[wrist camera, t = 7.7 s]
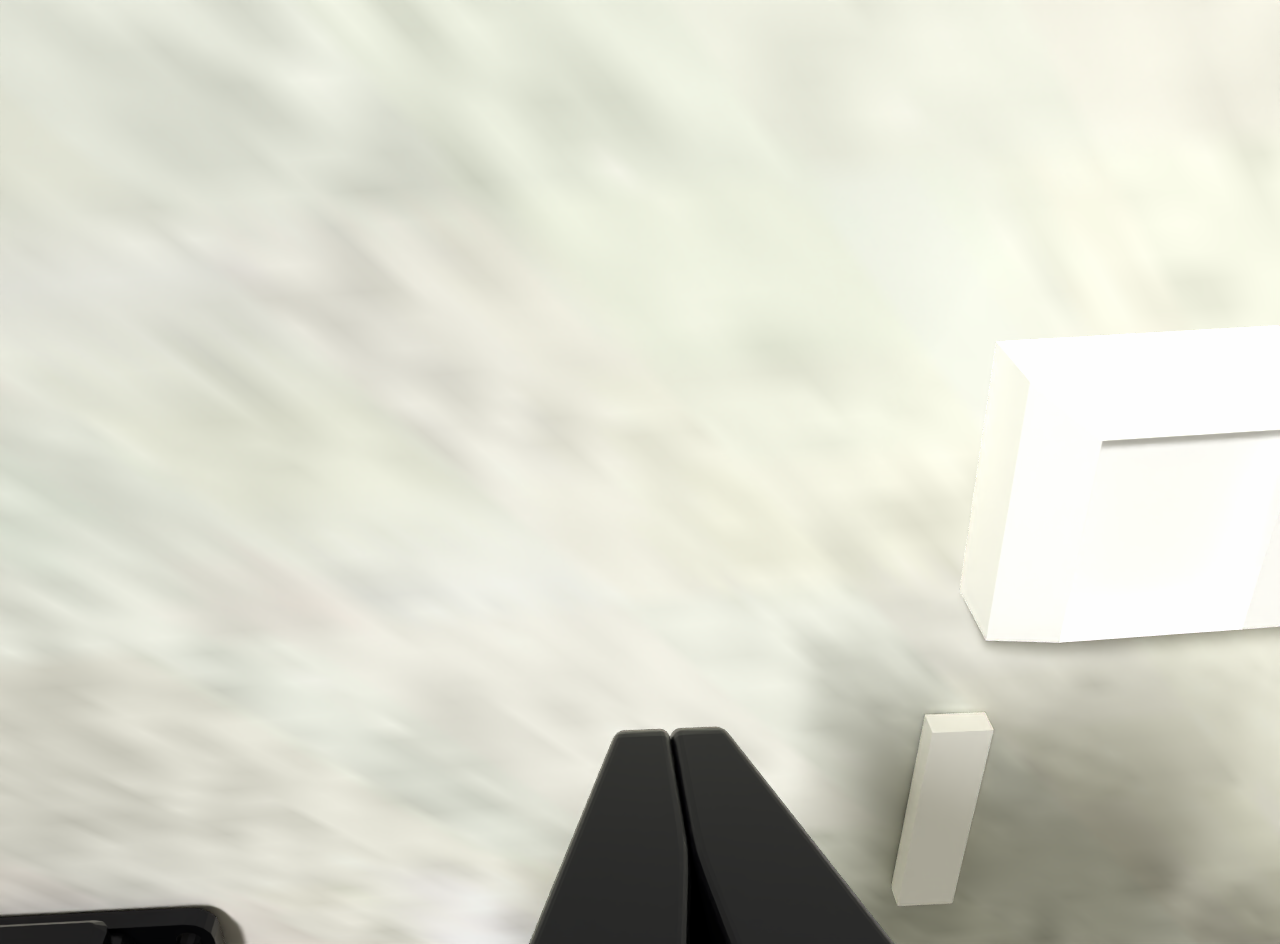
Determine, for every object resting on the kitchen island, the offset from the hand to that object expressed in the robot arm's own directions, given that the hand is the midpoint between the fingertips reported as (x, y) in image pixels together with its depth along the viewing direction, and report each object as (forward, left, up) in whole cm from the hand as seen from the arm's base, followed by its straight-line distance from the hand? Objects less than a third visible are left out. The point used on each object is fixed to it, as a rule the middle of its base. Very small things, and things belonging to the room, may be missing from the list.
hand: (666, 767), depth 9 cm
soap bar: (-3, -11, -10) cm, 15 cm away
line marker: (-11, -7, -10) cm, 16 cm away
